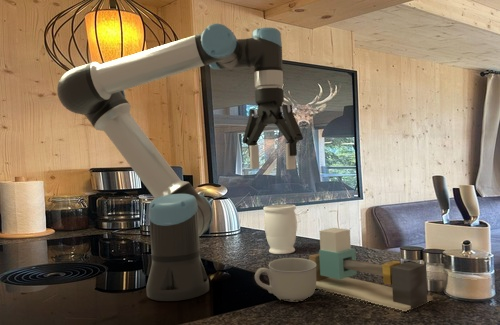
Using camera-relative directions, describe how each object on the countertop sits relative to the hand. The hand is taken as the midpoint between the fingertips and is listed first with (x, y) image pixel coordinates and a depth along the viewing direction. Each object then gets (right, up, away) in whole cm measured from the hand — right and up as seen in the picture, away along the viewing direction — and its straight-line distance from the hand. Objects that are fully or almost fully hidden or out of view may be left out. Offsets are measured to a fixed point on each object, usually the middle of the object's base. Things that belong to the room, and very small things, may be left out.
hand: (272, 169), depth 124 cm
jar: (+5, -28, +29) cm, 41 cm away
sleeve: (+15, -25, -13) cm, 32 cm away
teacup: (+2, -29, -20) cm, 35 cm away
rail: (+20, -28, -19) cm, 39 cm away
